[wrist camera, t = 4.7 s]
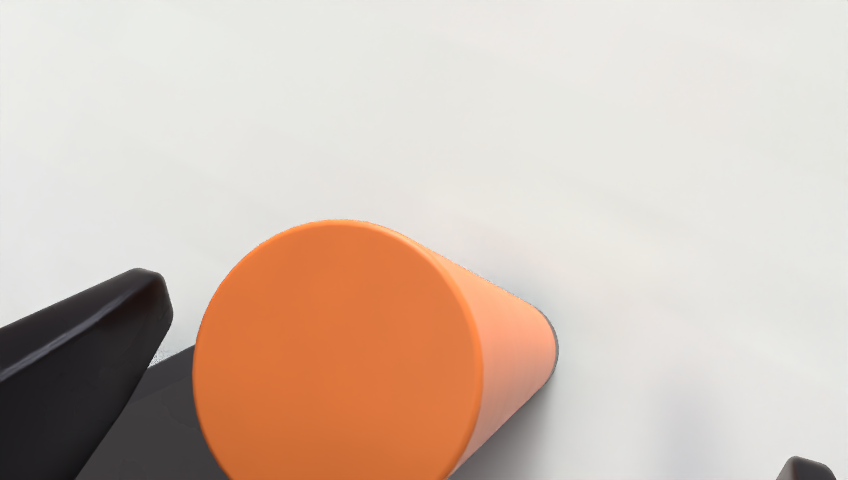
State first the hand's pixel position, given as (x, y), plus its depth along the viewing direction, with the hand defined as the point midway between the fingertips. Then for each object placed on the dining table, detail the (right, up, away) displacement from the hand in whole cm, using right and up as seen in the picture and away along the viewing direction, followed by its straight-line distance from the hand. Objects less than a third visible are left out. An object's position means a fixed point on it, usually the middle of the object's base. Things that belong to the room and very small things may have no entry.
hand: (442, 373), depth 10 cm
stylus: (+2, -1, +8) cm, 8 cm away
